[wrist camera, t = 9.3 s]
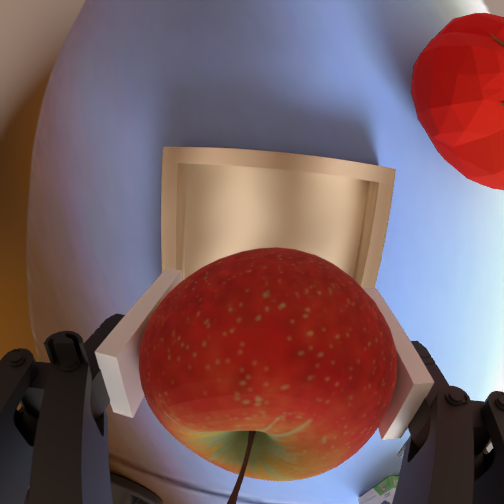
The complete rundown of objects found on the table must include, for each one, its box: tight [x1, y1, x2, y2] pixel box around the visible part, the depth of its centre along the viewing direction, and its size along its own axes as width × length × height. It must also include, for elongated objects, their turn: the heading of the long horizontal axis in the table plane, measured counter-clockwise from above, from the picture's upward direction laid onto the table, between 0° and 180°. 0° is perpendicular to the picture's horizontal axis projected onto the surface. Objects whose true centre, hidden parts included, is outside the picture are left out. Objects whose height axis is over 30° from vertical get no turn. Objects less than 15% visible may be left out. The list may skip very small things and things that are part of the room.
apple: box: [139, 247, 397, 504], centre depth 9 cm, size 8×8×10 cm
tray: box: [161, 147, 396, 288], centre depth 20 cm, size 14×14×3 cm
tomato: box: [411, 13, 504, 190], centre depth 11 cm, size 12×12×11 cm
